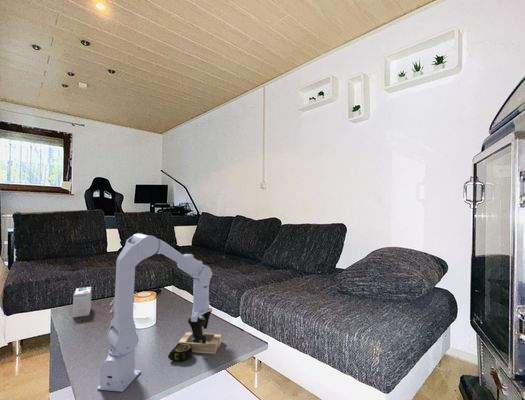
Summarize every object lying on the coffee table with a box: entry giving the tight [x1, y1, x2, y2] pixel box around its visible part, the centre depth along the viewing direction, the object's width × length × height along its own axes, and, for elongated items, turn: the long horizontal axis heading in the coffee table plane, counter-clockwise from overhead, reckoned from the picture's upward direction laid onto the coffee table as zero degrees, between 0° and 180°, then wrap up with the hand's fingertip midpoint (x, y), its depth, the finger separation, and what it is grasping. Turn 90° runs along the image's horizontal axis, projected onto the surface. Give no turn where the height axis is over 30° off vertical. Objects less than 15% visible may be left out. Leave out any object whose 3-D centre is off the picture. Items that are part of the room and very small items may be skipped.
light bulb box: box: [72, 286, 92, 318], centre depth 134 cm, size 11×7×11 cm, turn 28°
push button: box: [192, 316, 206, 343], centre depth 104 cm, size 7×5×10 cm
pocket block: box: [177, 331, 223, 355], centre depth 104 cm, size 9×14×3 cm, turn 83°
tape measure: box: [167, 343, 193, 362], centre depth 97 cm, size 7×7×4 cm
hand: (200, 333), depth 104 cm, fingers open, 7 cm apart
